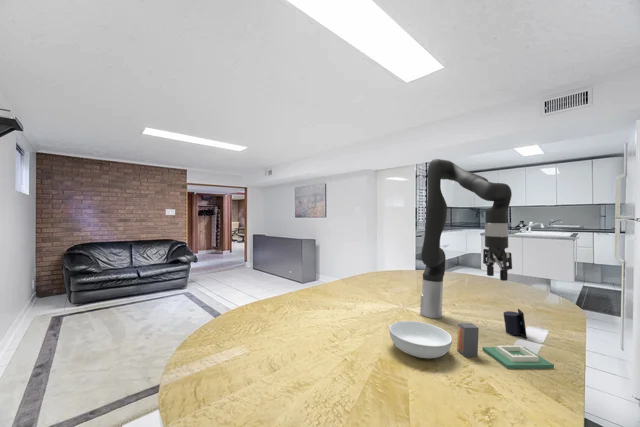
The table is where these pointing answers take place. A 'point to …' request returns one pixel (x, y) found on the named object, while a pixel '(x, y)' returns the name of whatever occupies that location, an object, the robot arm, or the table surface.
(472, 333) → the gray rectangular block
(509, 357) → the board
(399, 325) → the serving bowl
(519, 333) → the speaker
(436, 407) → the table surface
